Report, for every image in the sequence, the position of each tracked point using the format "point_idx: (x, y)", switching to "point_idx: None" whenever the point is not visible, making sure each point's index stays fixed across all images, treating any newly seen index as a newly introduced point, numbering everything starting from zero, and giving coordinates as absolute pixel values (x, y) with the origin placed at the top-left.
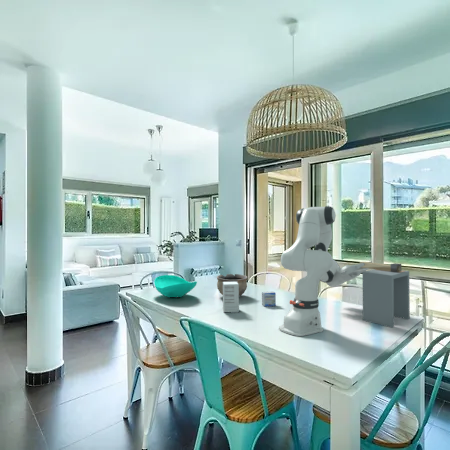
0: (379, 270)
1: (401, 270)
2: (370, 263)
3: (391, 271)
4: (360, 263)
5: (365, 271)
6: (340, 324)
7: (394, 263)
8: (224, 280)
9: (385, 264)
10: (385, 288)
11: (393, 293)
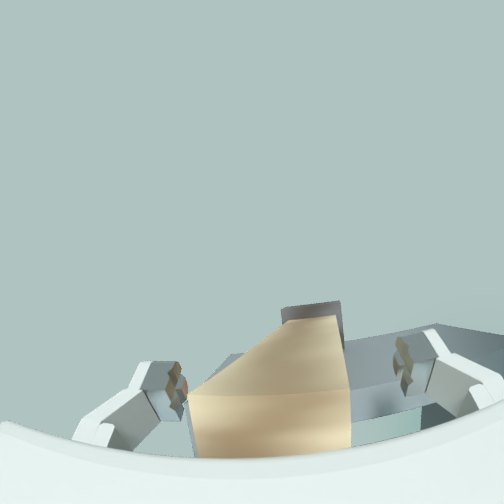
0: (349, 373)
1: (231, 361)
2: (339, 340)
3: (343, 348)
4: (348, 407)
5: (495, 350)
6: None
7: (295, 307)
8: None
9: (300, 325)
10: None
11: (423, 406)
